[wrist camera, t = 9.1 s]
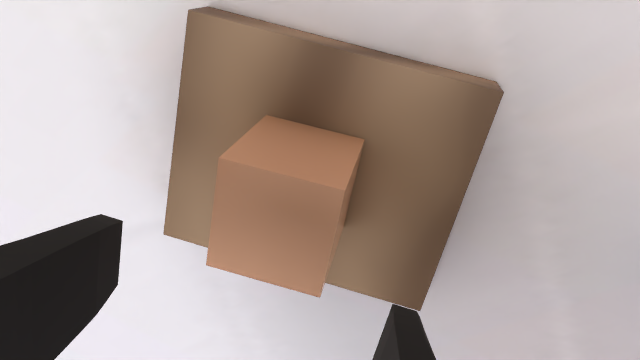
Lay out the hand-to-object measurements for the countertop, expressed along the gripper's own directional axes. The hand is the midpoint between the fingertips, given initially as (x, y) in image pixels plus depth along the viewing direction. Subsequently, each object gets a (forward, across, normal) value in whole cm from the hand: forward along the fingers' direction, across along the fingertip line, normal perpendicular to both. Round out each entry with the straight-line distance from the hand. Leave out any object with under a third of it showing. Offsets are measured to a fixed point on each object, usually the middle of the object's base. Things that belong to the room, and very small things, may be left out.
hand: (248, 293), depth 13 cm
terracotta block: (+8, 0, 0) cm, 9 cm away
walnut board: (+11, 0, 0) cm, 11 cm away
